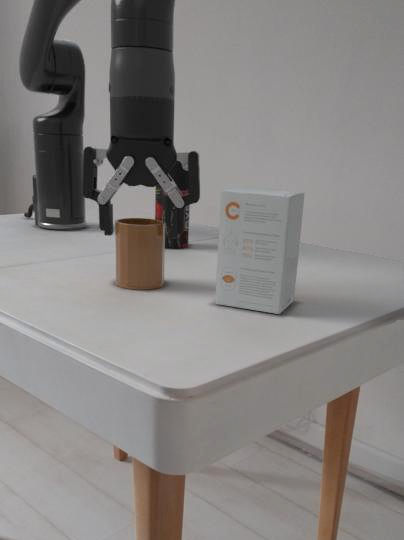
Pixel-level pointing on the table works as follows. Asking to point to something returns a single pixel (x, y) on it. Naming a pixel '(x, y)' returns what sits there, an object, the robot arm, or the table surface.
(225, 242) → the small box
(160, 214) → the deodorant
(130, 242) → the cup
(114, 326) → the table surface
